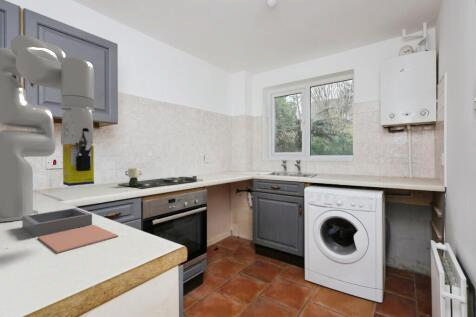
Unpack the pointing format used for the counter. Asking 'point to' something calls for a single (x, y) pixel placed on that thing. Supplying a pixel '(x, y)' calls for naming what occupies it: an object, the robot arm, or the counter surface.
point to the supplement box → (69, 167)
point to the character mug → (133, 176)
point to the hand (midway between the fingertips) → (78, 169)
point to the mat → (76, 238)
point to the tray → (55, 221)
